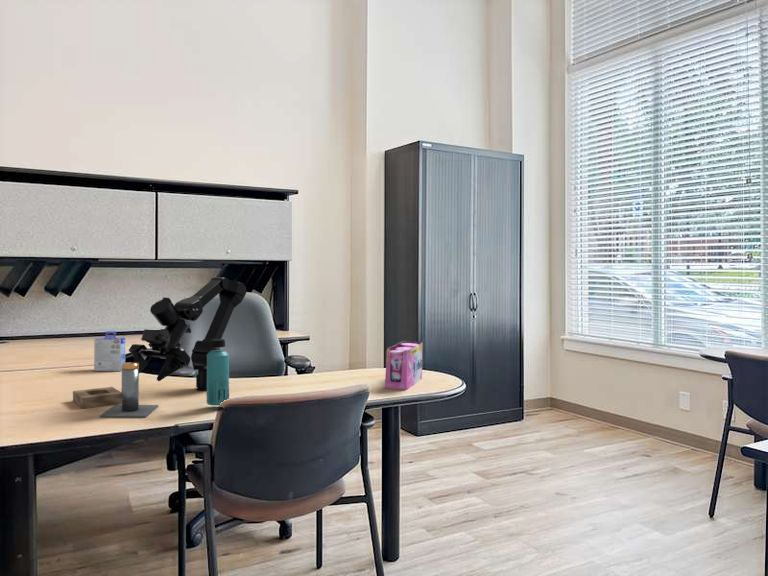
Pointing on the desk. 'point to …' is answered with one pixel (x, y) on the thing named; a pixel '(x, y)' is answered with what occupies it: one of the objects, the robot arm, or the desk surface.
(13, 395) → the desk surface
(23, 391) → the desk surface
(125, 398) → the amber topped metal pillar
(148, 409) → the mat
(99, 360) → the ink cartridge box
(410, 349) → the gum box
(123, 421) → the desk surface
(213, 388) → the beverage bottle
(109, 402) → the brown square frame
